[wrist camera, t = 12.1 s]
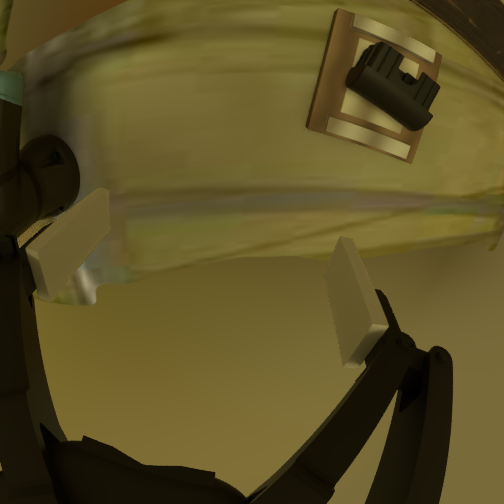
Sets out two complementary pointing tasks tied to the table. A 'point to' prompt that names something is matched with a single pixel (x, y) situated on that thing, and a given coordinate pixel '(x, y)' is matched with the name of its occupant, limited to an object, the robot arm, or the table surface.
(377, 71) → the black notched block
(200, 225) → the table surface
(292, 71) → the table surface
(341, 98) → the display riser
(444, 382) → the robot arm
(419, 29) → the table surface
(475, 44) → the hardcover book
